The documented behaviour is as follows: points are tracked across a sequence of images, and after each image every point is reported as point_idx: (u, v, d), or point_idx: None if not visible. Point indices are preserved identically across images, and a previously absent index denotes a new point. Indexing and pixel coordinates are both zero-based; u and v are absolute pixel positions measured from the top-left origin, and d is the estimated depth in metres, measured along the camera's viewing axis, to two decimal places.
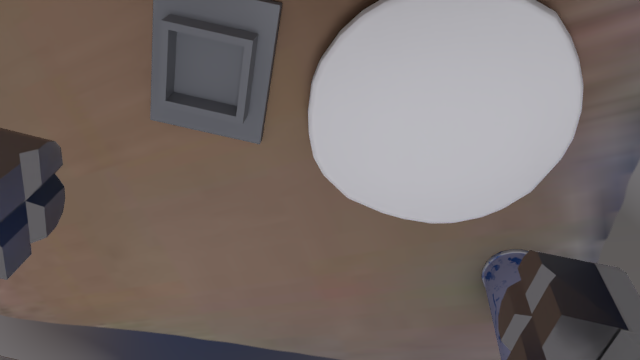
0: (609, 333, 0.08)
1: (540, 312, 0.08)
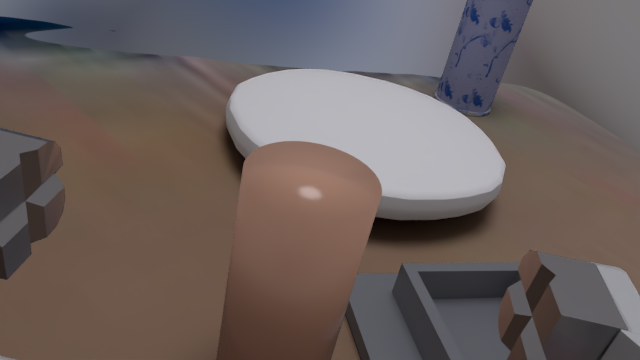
0: (609, 333, 0.08)
1: (539, 312, 0.08)
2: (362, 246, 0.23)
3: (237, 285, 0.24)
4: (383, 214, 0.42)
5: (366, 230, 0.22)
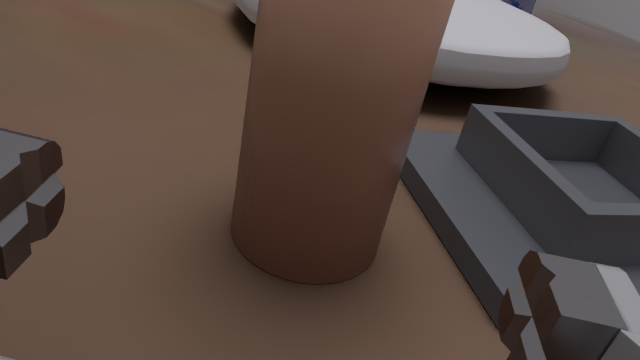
0: (609, 333, 0.08)
1: (539, 312, 0.08)
2: None
3: (273, 17, 0.15)
4: (434, 74, 0.34)
5: None
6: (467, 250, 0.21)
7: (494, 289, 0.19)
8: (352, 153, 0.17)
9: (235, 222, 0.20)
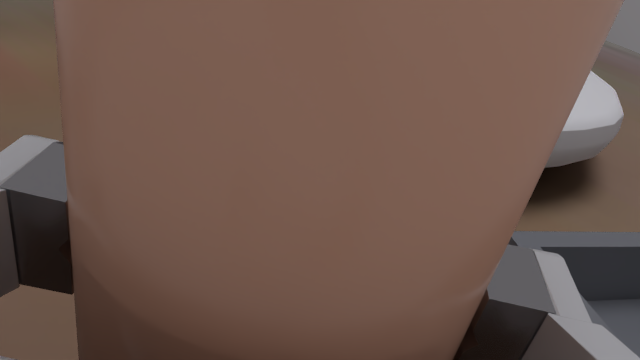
0: (539, 318, 0.08)
1: None
2: (586, 77, 0.05)
3: (77, 254, 0.06)
4: None
5: None
6: None
7: None
8: None
9: None
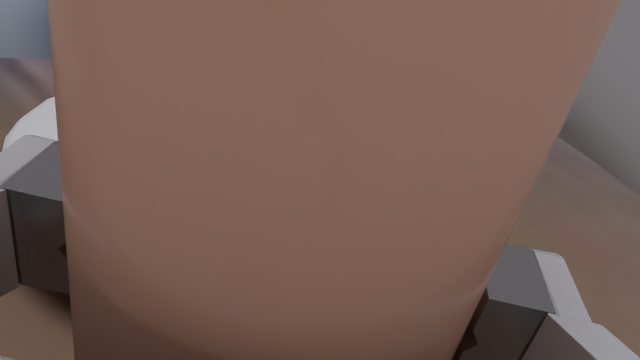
0: (540, 317, 0.08)
1: None
2: (584, 78, 0.05)
3: (73, 255, 0.06)
4: None
5: None
6: None
7: None
8: None
9: None
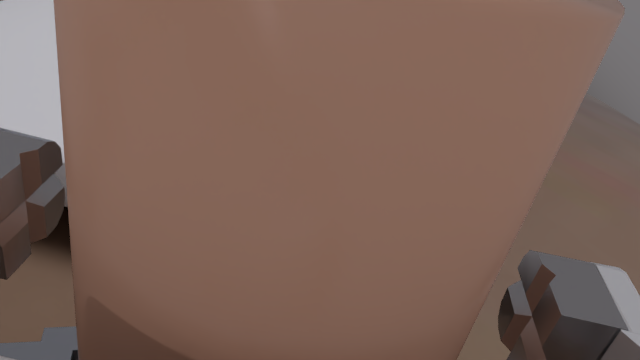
0: (610, 333, 0.08)
1: (540, 312, 0.08)
2: None
3: (83, 340, 0.07)
4: None
5: (568, 128, 0.05)
6: None
7: None
8: None
9: None
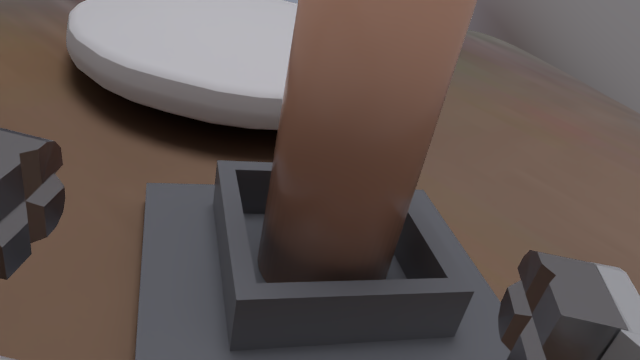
0: (610, 333, 0.08)
1: (539, 312, 0.08)
2: (463, 32, 0.18)
3: (300, 94, 0.19)
4: (229, 119, 0.33)
5: (471, 4, 0.17)
6: (137, 331, 0.20)
7: None
8: (366, 204, 0.20)
9: (262, 257, 0.23)
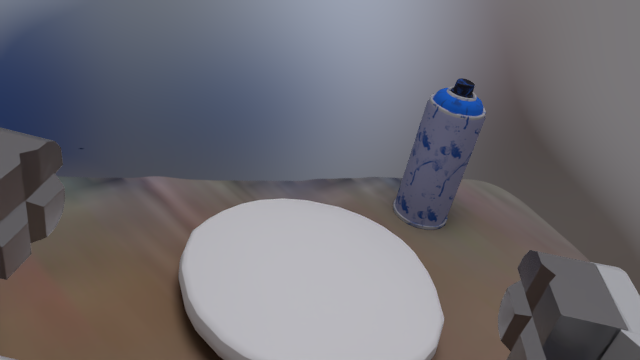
0: (609, 333, 0.08)
1: (539, 312, 0.08)
2: None
3: None
4: None
5: None
6: None
7: None
8: None
9: None
